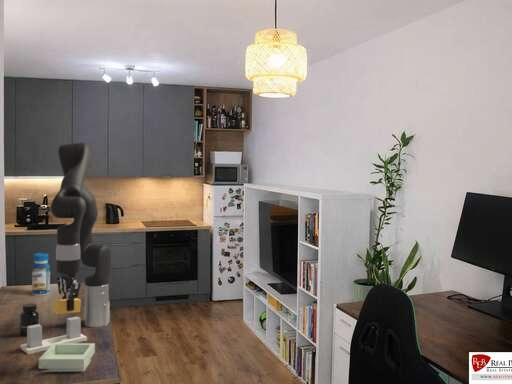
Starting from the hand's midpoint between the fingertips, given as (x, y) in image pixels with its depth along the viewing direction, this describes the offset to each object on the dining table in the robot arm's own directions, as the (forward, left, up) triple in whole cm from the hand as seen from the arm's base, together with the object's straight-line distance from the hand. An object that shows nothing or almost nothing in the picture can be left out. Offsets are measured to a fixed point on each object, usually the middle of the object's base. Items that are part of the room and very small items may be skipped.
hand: (68, 309), depth 165 cm
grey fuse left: (+14, -10, -17) cm, 24 cm away
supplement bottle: (+22, -26, -18) cm, 38 cm away
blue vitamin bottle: (+39, -87, -18) cm, 97 cm away
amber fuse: (+3, +3, +1) cm, 5 cm away
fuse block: (+9, -15, -18) cm, 25 cm away
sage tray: (0, 0, -18) cm, 18 cm away
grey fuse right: (+4, -19, -17) cm, 26 cm away
